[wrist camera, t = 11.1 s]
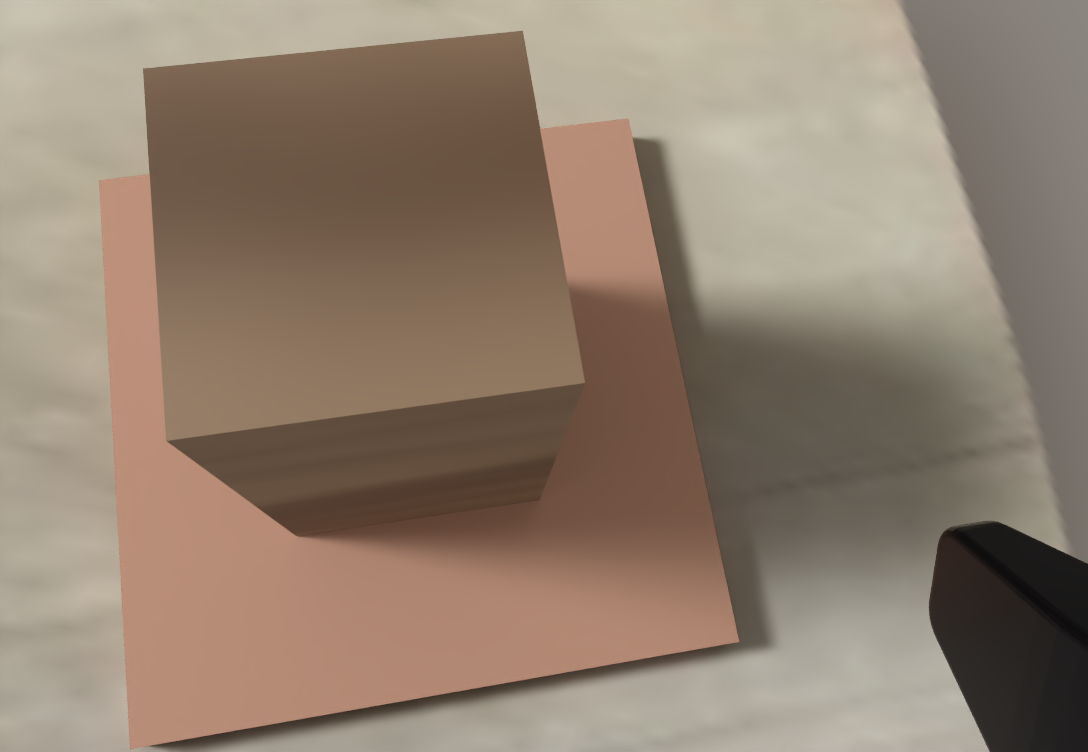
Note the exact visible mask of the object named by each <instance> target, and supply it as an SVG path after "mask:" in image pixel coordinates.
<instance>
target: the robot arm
mask: <svg viewBox="0 0 1088 752" xmlns="http://www.w3.org/2000/svg"><path fill="white" fill-rule="evenodd" d="M929 615H930V621H931V625H932V628H933V632H934V634H935V636H936V639H937V641H938V643H939V645H940V647H941V649H942V651H943V654H944V656H945V658H946V660H947V662H948V664H949V666H950V668H951V671H952V673H953V675H954V677H955V679H956V681H957V683H958V685H959V688H960V690H961V692H962V694H963V696H964V698H965V700H966V702H967V705H968V707H969V709H970V711H971V713H972V715H973V717H974V719H975V722H976V724H977V726H978V728H979V730H980V732H981V734H982V736H983V739H984V741H985V743H986V745H987V747H988V749H989V751H990V752H1088V564H1087V563H1085V562H1083V561H1081V560H1078V559H1076V558H1074V557H1072V556H1070V555H1068V554H1066V553H1064V552H1062V551H1059V550H1057V549H1055V548H1053V547H1051V546H1049V545H1047V544H1045V543H1043V542H1040V541H1038V540H1036V539H1034V538H1032V537H1030V536H1028V535H1026V534H1023V533H1021V532H1019V531H1017V530H1015V529H1013V528H1011V527H1009V526H1007V525H1004V524H1002V523H999V522H996V521H982V522H976V523H970V524H964V525H958V526H953V527H950V528H948V529H946V530H945V531H944V532H943V534H942V535H941V537H940V539H939V543H938V548H937V555H936V561H935V567H934V574H933V580H932V587H931V593H930V600H929Z"/></svg>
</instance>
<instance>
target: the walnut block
mask: <svg viewBox="0 0 1088 752" xmlns="http://www.w3.org/2000/svg"><path fill="white" fill-rule="evenodd" d="M143 74H144V90H145V106H146V122H147V139H148V155H149V171H150V187H151V203H152V220H153V236H154V252H155V268H156V285H157V301H158V317H159V333H160V349H161V366H162V382H163V398H164V414H165V431H166V441H167V442H168V443H170V444H171V445H172V446H174V447H175V448H177V449H178V450H179V451H181V452H182V453H183V454H185V455H186V456H187V457H189V458H190V459H192V460H193V461H194V462H196V463H197V464H198V465H200V466H201V467H202V468H204V469H205V470H207V471H208V472H209V473H211V474H212V475H213V476H215V477H216V478H217V479H219V480H220V481H222V482H223V483H224V484H226V485H227V486H228V487H230V488H231V489H233V490H234V491H235V492H237V493H238V494H239V495H241V496H242V497H243V498H245V499H246V500H248V501H249V502H250V503H252V504H253V505H254V506H256V507H257V508H258V509H260V510H261V511H263V512H264V513H265V514H267V515H268V516H269V517H271V518H272V519H273V520H275V521H276V522H278V523H279V524H280V525H282V526H283V527H284V528H286V529H287V530H288V531H290V532H291V533H293V534H294V535H295V536H303V535H310V534H316V533H323V532H330V531H336V530H343V529H350V528H356V527H363V526H370V525H376V524H383V523H390V522H396V521H403V520H410V519H416V518H423V517H430V516H436V515H443V514H450V513H456V512H463V511H470V510H476V509H483V508H490V507H496V506H503V505H510V504H516V503H523V502H530V501H536V500H540V498H541V496H542V493H543V490H544V488H545V485H546V483H547V480H548V478H549V475H550V472H551V470H552V467H553V465H554V462H555V460H556V457H557V454H558V452H559V449H560V447H561V444H562V442H563V439H564V436H565V434H566V431H567V429H568V426H569V423H570V421H571V418H572V416H573V413H574V411H575V408H576V405H577V403H578V400H579V398H580V395H581V393H582V390H583V387H584V385H585V379H584V373H583V368H582V362H581V357H580V351H579V345H578V340H577V334H576V328H575V323H574V317H573V312H572V306H571V300H570V295H569V289H568V283H567V278H566V272H565V267H564V261H563V255H562V250H561V244H560V238H559V233H558V227H557V222H556V216H555V210H554V205H553V199H552V193H551V188H550V182H549V177H548V171H547V165H546V160H545V154H544V148H543V143H542V137H541V132H540V126H539V120H538V115H537V109H536V103H535V98H534V92H533V86H532V81H531V75H530V70H529V64H528V58H527V53H526V47H525V41H524V36H523V31H517V32H507V33H497V34H487V35H477V36H467V37H457V38H447V39H437V40H427V41H417V42H407V43H397V44H387V45H377V46H367V47H357V48H346V49H336V50H326V51H316V52H306V53H296V54H286V55H276V56H266V57H256V58H246V59H236V60H226V61H216V62H206V63H196V64H186V65H176V66H166V67H156V68H146V69H143Z"/></svg>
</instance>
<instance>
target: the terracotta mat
mask: <svg viewBox="0 0 1088 752" xmlns="http://www.w3.org/2000/svg"><path fill="white" fill-rule="evenodd" d="M540 132H541V137H542V143H543V148H544V154H545V160H546V165H547V171H548V177H549V182H550V188H551V193H552V199H553V205H554V210H555V216H556V222H557V227H558V233H559V238H560V244H561V250H562V255H563V261H564V267H565V272H566V278H567V283H568V289H569V295H570V300H571V306H572V312H573V317H574V323H575V328H576V334H577V340H578V345H579V351H580V357H581V362H582V368H583V373H584V379H585V385H584V387H583V390H582V393H581V395H580V398H579V400H578V403H577V405H576V408H575V411H574V413H573V416H572V418H571V421H570V423H569V426H568V429H567V431H566V434H565V436H564V439H563V442H562V444H561V447H560V449H559V452H558V454H557V457H556V460H555V462H554V465H553V467H552V470H551V472H550V475H549V478H548V480H547V483H546V485H545V488H544V490H543V493H542V496H541V498H540V500H536V501H530V502H523V503H516V504H510V505H503V506H496V507H490V508H483V509H476V510H470V511H463V512H456V513H450V514H443V515H436V516H430V517H423V518H416V519H410V520H403V521H396V522H390V523H383V524H376V525H370V526H363V527H356V528H350V529H343V530H336V531H330V532H323V533H316V534H310V535H303V536H295V535H294V534H293V533H291V532H290V531H288V530H287V529H286V528H284V527H283V526H282V525H280V524H279V523H278V522H276V521H275V520H273V519H272V518H271V517H269V516H268V515H267V514H265V513H264V512H263V511H261V510H260V509H258V508H257V507H256V506H254V505H253V504H252V503H250V502H249V501H248V500H246V499H245V498H243V497H242V496H241V495H239V494H238V493H237V492H235V491H234V490H233V489H231V488H230V487H228V486H227V485H226V484H224V483H223V482H222V481H220V480H219V479H217V478H216V477H215V476H213V475H212V474H211V473H209V472H208V471H207V470H205V469H204V468H202V467H201V466H200V465H198V464H197V463H196V462H194V461H193V460H192V459H190V458H189V457H187V456H186V455H185V454H183V453H182V452H181V451H179V450H178V449H177V448H175V447H174V446H172V445H171V444H170V443H168V442H167V441H166V431H165V414H164V398H163V382H162V366H161V349H160V333H159V317H158V301H157V285H156V268H155V252H154V236H153V220H152V203H151V187H150V174H149V175H140V176H132V177H123V178H115V179H106V180H99V188H100V206H101V224H102V243H103V261H104V279H105V298H106V316H107V334H108V353H109V371H110V389H111V408H112V426H113V444H114V463H115V481H116V499H117V518H118V536H119V554H120V573H121V591H122V609H123V628H124V646H125V664H126V683H127V701H128V719H129V738H130V749H134V748H140V747H145V746H151V745H157V744H162V743H168V742H174V741H179V740H185V739H191V738H196V737H202V736H208V735H213V734H219V733H225V732H231V731H236V730H242V729H248V728H253V727H259V726H265V725H270V724H276V723H282V722H287V721H293V720H299V719H304V718H310V717H316V716H321V715H327V714H333V713H338V712H344V711H350V710H355V709H361V708H367V707H372V706H378V705H384V704H389V703H395V702H401V701H407V700H412V699H418V698H424V697H429V696H435V695H441V694H446V693H452V692H458V691H463V690H469V689H475V688H480V687H486V686H492V685H497V684H503V683H509V682H514V681H520V680H526V679H531V678H537V677H543V676H548V675H554V674H560V673H565V672H571V671H577V670H582V669H588V668H594V667H600V666H605V665H611V664H617V663H622V662H628V661H634V660H639V659H645V658H651V657H656V656H662V655H668V654H673V653H679V652H685V651H690V650H696V649H702V648H707V647H713V646H719V645H724V644H730V643H736V642H739V638H738V633H737V629H736V624H735V619H734V614H733V610H732V605H731V600H730V596H729V591H728V586H727V581H726V577H725V572H724V567H723V563H722V558H721V553H720V548H719V544H718V539H717V534H716V530H715V525H714V520H713V515H712V511H711V506H710V501H709V497H708V492H707V487H706V482H705V478H704V473H703V468H702V464H701V459H700V454H699V449H698V445H697V440H696V435H695V430H694V426H693V421H692V416H691V412H690V407H689V402H688V397H687V393H686V388H685V383H684V379H683V374H682V369H681V364H680V360H679V355H678V350H677V346H676V341H675V336H674V331H673V327H672V322H671V317H670V313H669V308H668V303H667V298H666V294H665V289H664V284H663V280H662V275H661V270H660V265H659V261H658V256H657V251H656V247H655V242H654V237H653V232H652V228H651V223H650V218H649V214H648V209H647V204H646V199H645V195H644V190H643V185H642V180H641V176H640V171H639V166H638V162H637V157H636V152H635V147H634V143H633V138H632V133H631V129H630V124H629V119H621V120H613V121H604V122H596V123H587V124H578V125H570V126H561V127H553V128H544V129H540Z"/></svg>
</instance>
